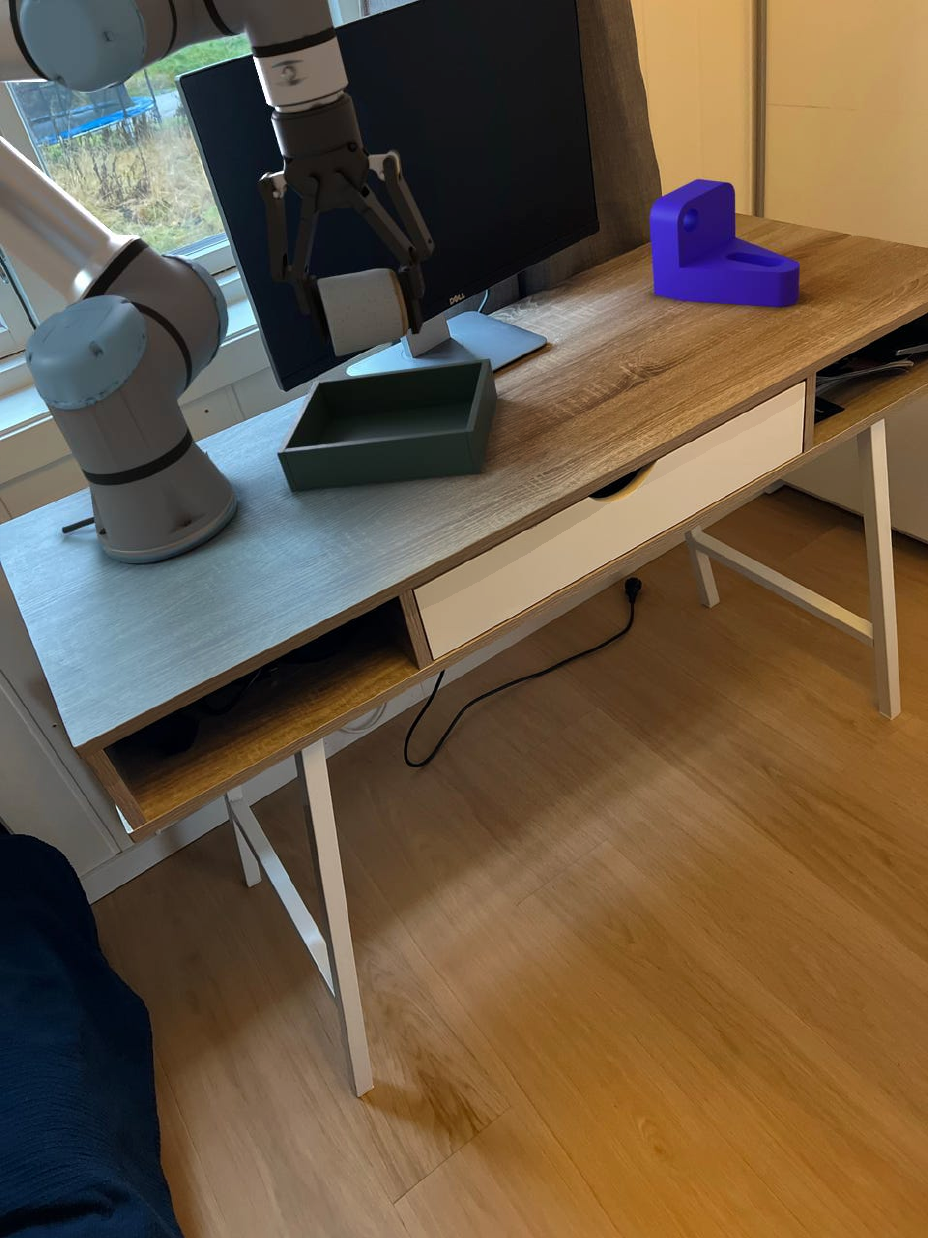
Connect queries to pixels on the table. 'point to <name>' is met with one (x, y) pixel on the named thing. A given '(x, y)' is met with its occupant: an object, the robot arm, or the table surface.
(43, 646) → the table surface
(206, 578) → the table surface
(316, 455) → the tote
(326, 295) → the ceramic mug
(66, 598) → the table surface
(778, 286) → the bracket
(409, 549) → the table surface
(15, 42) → the robot arm
